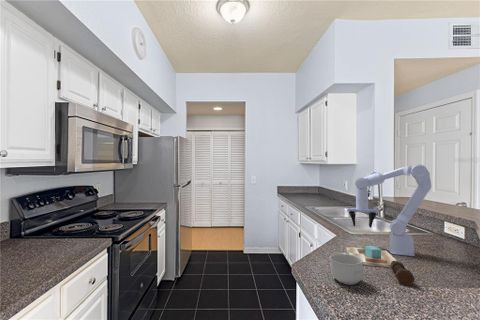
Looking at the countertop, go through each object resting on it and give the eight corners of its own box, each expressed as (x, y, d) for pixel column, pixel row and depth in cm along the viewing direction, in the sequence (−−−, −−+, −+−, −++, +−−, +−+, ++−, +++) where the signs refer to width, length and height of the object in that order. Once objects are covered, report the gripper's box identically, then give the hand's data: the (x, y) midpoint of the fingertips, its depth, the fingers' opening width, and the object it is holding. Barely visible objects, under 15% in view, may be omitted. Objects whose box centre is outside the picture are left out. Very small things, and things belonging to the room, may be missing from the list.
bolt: (397, 274, 96) (408, 289, 82) (385, 266, 97) (393, 279, 84) (406, 262, 95) (417, 276, 81) (393, 254, 97) (402, 266, 83)
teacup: (361, 291, 77) (361, 266, 78) (326, 282, 83) (326, 259, 83) (365, 275, 89) (364, 254, 89) (334, 269, 95) (334, 248, 95)
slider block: (374, 259, 106) (374, 246, 106) (381, 264, 101) (381, 249, 101) (365, 259, 106) (365, 245, 106) (371, 263, 101) (371, 249, 101)
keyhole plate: (386, 253, 115) (386, 247, 115) (402, 269, 96) (402, 262, 96) (346, 249, 120) (346, 244, 120) (353, 263, 101) (353, 257, 101)
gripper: (375, 200, 128) (375, 225, 128) (346, 199, 132) (346, 223, 132) (378, 201, 121) (379, 228, 121) (348, 200, 125) (348, 226, 125)
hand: (362, 226), depth 126 cm, fingers open, 7 cm apart
